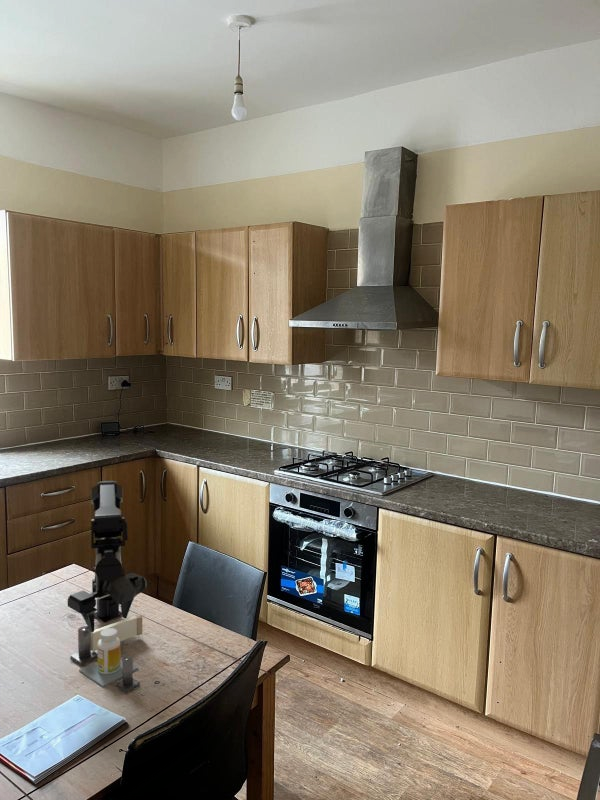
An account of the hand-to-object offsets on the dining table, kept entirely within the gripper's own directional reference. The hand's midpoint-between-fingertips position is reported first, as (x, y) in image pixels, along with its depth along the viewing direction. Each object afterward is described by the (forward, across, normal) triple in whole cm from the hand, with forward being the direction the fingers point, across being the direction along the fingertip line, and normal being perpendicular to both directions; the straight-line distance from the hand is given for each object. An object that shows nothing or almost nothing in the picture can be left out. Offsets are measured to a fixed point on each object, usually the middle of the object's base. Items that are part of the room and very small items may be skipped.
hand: (108, 624), depth 148 cm
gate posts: (+12, -1, 0) cm, 12 cm away
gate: (+10, +8, +8) cm, 15 cm away
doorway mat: (+12, 0, 0) cm, 12 cm away
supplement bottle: (+12, 0, 0) cm, 12 cm away
